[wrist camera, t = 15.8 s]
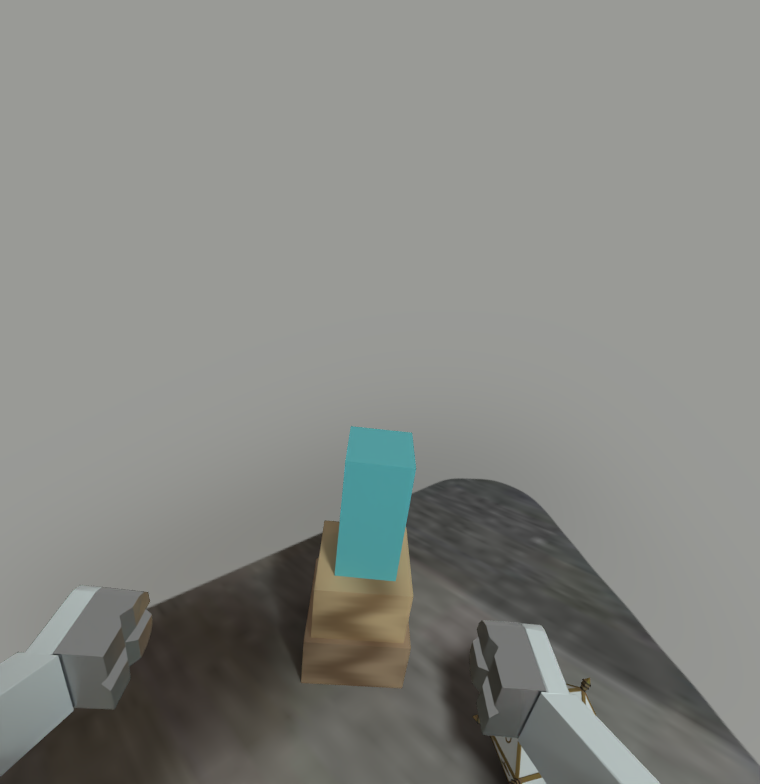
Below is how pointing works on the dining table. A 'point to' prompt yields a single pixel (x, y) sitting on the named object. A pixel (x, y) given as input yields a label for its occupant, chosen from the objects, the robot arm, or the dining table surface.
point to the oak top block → (359, 598)
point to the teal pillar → (374, 503)
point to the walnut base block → (352, 659)
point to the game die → (512, 755)
